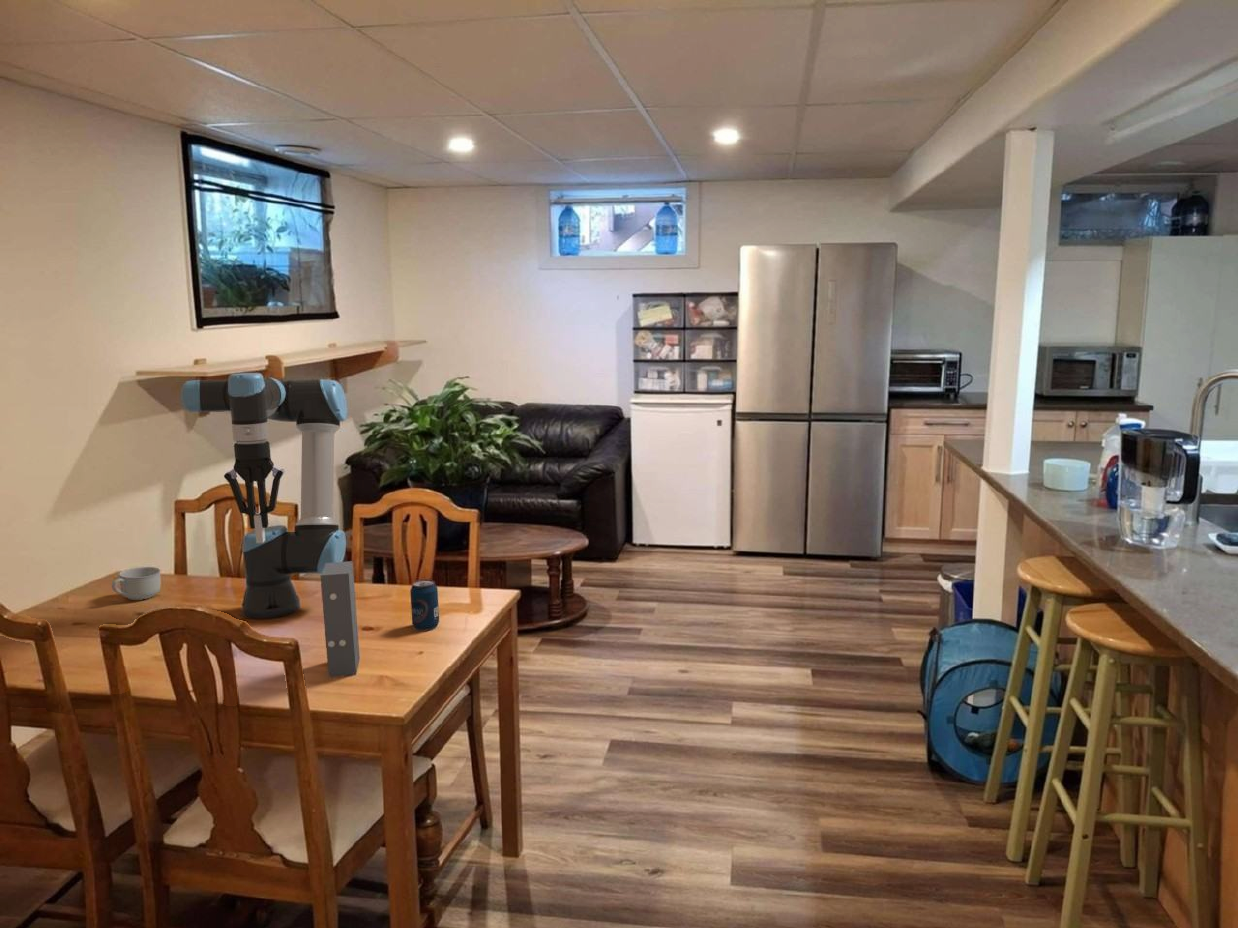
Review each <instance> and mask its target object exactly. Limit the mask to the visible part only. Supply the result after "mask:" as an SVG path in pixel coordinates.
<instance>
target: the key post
mask: <svg viewBox="0 0 1238 928" xmlns="http://www.w3.org/2000/svg"><path fill="white" fill-rule="evenodd" d="M354 575H355V573H354V564H353V561H352V560H350V561H343V562H335V563H326V564H325V566H324V569H323V571H322V573H321V574H320V586H321V587H320V588H322V591H321V599H322V600H323V602H322V609H323V610H322V611H323V624H324V637H325V638H326V641H325V649H326V659H327V660H326V662H327V672H328V673H327V674H328V675H327V676H328V678H337V677H347V676H348V677H349V676H356V675H357V673H358V667H359V663H360V644H359V643H360V642H359V631H358V629H359V628H358V618H357V617H358V615H357V603H356V589H355V576H354ZM325 638H324V639H325Z"/></svg>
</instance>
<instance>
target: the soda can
mask: <svg viewBox="0 0 1238 928" xmlns="http://www.w3.org/2000/svg"><path fill="white" fill-rule="evenodd" d="M409 592H410V607H411V611H410V612H411V622H412V623H411V624H412V625H413V627H414V628H415V630H417V631H422V632H423V631H425V630H426V631H431V630H434V629H436V628H437V627H438V625H439V623H440V609H439V608H440V607H439V594H438V593H439V592H438V587H437V584H436V582H435V580H433V579H418V580H415V581H413V582H412V586H411V588H410V591H409Z"/></svg>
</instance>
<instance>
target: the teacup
mask: <svg viewBox="0 0 1238 928" xmlns="http://www.w3.org/2000/svg"><path fill="white" fill-rule="evenodd" d="M161 572H162V571H161V569H160V568H159V567H154V566H140V567H139V566H138V567H132V568H127V569H124V570H122V571H120V572H119V573H118V576H119V577H118V578H115V579H114V580H113V581H112V584H111V588H112V591H113V592H115V593H116V594H120V595H122V596H123V597H124V598H127V599H129V600H131V601H143V599H145V600H148V598H149V599H151V597H152V598H154V596H156V594H158V593H159V592H160V591H161V581H162V579H161ZM118 584H119V586H120V587H119V588H120V589H119V588H118V587H117V586H118Z"/></svg>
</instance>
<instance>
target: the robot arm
mask: <svg viewBox="0 0 1238 928" xmlns="http://www.w3.org/2000/svg"><path fill="white" fill-rule="evenodd" d="M180 394H181V395H180V396H181V397H180V398H181V403H182V406H183V407H184V409H185V410H186V411H188V412H190V413H191V412H192V413H193V412H194V413H210V412H212V413H230V416H231V427H232V428H231V429H232V440H233V441H234V442H235V443H234V444H233V450H234V451H233V452H234V460H235V461H234V464H233V469H231V470H230V471H227V472H225V474H224V475H223V477H224V479H225V480H226V482H228V483H229V486H230V489H231V491H232V494H233V496H234V500H235V503H236V505H237V508H238V510H239V513H240V514H246V515H248V519H249V528H250V529H251V530H252V529H254V530H252V531H250V532H247V533H246V534H244V535H243V538H242V556H243V564H244V565H243V566H244V567H243V568H244V574H245V585H246V587H245V590H244V594H243V598H242V599H243V600H242V603H241V615H242V616H243V617H245V618H246V619H247V618H248V619H255V620H263V619H265V620H266V619H274V618H279V617H284V616H286V615H291V614H293V613H295V612H296V611H298V610H300V607H301V602H300V597H299V595H298V594H297V591H296V589H295V586H294V584H293V581H292V575H297V574H298V575H302V574H306V575H308V574H309V575H310V574H320V575H321V573H322V571H323V569H324V566H325V564H326V563H335V562H344V559H345V553H346V549H347V547H346V546H347V539H346V533H345V532H344V531H343V530H341V529H340V524H339V523H338V521H336V520H335V519H334V485H335V484H334V483H335V482H334V478H335V476H334V475H335V474H334V472H335V470H334V469H335V468H334V467H335V465H334V464H335V462H334V461H335V434H336V432H337V431H339V430H340V429H341V422H344V421H346V419H347V418H348V417H347V415H348V406H347V405H348V404H347V403H348V402H347V399H346V395H345V391H344V389H343V387H342V385H341V384H340V383H339V382H338V381H337V380H334V379H323V378H321V379H302V380H290V379H289V380H288V379H287V380H278V379H276V378H273V377H264V376H263V374H262V373H260V372H245V373H244V372H241V373H233V374H232V373H231V374H230V375H229V376H228V379H195V380H187V381H185V382H184V383H183V385H182V387H181V393H180ZM268 420H270V421H271V420H272V421H279V422H284V423H285V422H288V423H290V422H292V423H293V422H295V424H296V426H295V427H296V428H297V429H298V431H299V432H300V433H301V466H300V468H301V471H300V472H301V473H300V474H301V477H300V478H301V479H300V480H301V481H300V519H299V520H298V521H296V522H295V524H294V531H288V528H287V526H286V525H279V524H278V525H273V526H272V525H271V526H269V515H268V514H269V513H271V512H273V511H275V509H276V505H277V501H278V494H279V489H280V483H281V479H282V477H283V475H284V474H285V469H284V468H281V469H280V468H278V467H277V466H275V465H274V462H273V460H272V455H271V446H270V442H269V441H268V439H269V438H270V435H269V433H270V432H269V423H268ZM271 472H272V474H271ZM237 474H238V475H237ZM270 474H271V476H272V477H273V480H272V485H271V489H270V495H269V496H270V497H269V500H268V499H267V490H266V489H267V487H266V479H267V478H268V477H269V475H270ZM238 476H239V477H240V478H241V479H242V480H243V481H244V485H245V491H246V494H245V495H246V501H245V498H244V497H245V496H244V494H243V493H242V488H241V487H240V484H239V481H238V479H237V477H238ZM255 482H256V485H257V492H258V503H259V512H257V507H256V498H255V486H254V485H255ZM256 512H257V513H256Z"/></svg>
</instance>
